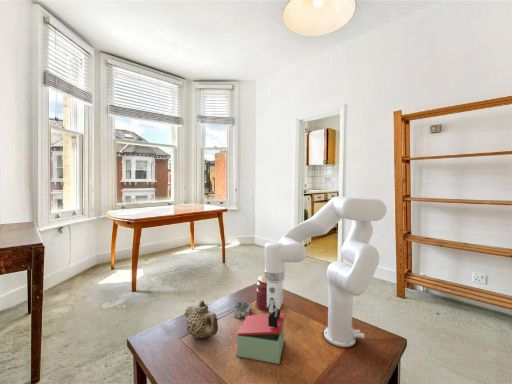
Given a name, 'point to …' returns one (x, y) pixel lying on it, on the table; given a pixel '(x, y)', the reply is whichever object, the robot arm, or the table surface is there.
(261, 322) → the lid
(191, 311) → the teapot
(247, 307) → the egg carton
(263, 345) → the storage box
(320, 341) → the table surface
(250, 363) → the table surface
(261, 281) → the kitchen canister
